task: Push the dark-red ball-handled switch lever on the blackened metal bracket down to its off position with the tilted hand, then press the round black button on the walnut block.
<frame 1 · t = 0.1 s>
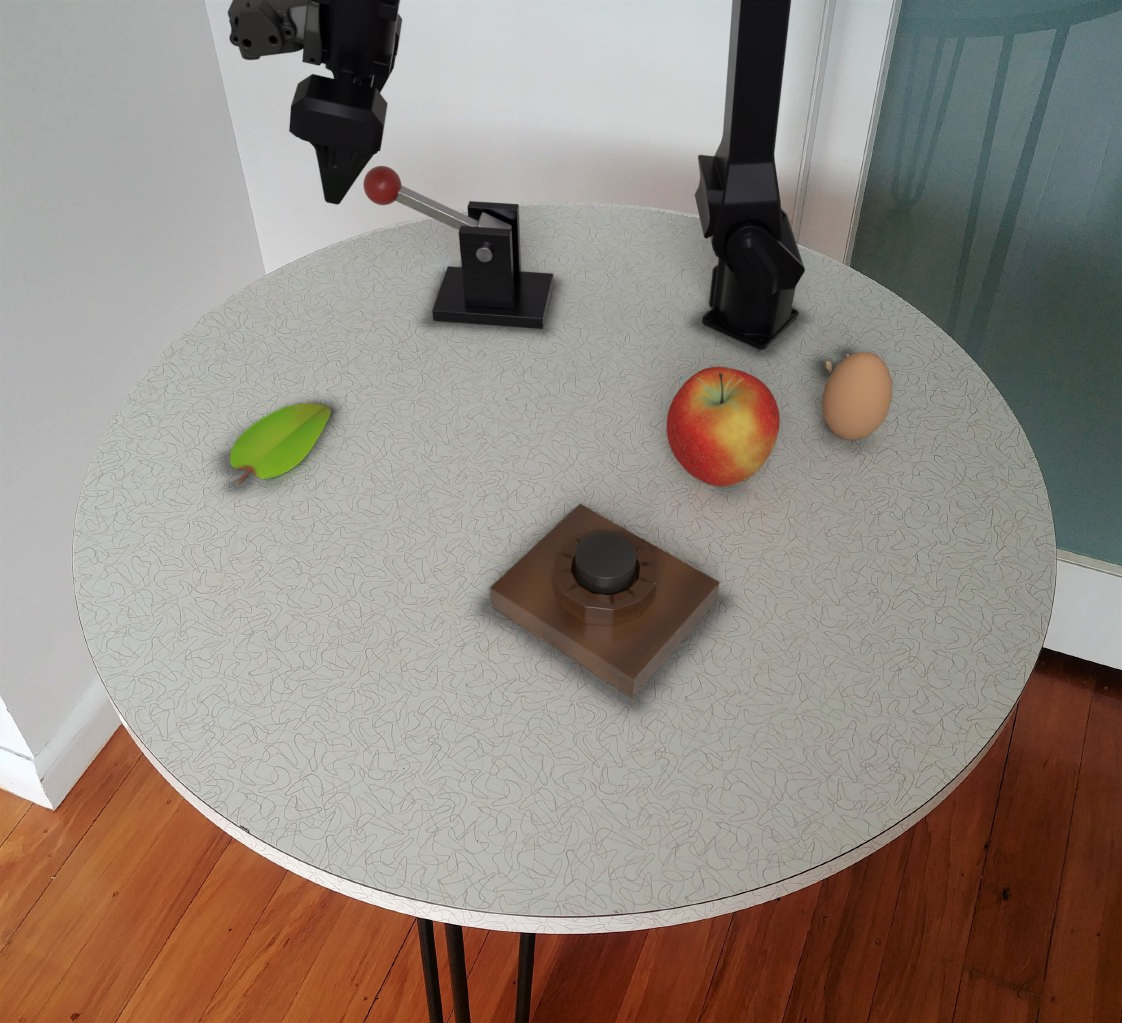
hand: (339, 171, 84), 15 cm above the table, tool pointing down, fingers open, 9 cm apart
bracket: (494, 302, 97), on the table
apple: (716, 472, 82), on the table
nutmeg: (843, 374, 91), on the table
button: (605, 563, 70), point 4 cm above the table, slide at 0.1 cm
egg: (847, 435, 85), on the table
button block: (604, 604, 73), on the table
decorative leaf: (280, 445, 85), on the table
switch: (435, 210, 91), point 9 cm above the table, hinge at 25.0°
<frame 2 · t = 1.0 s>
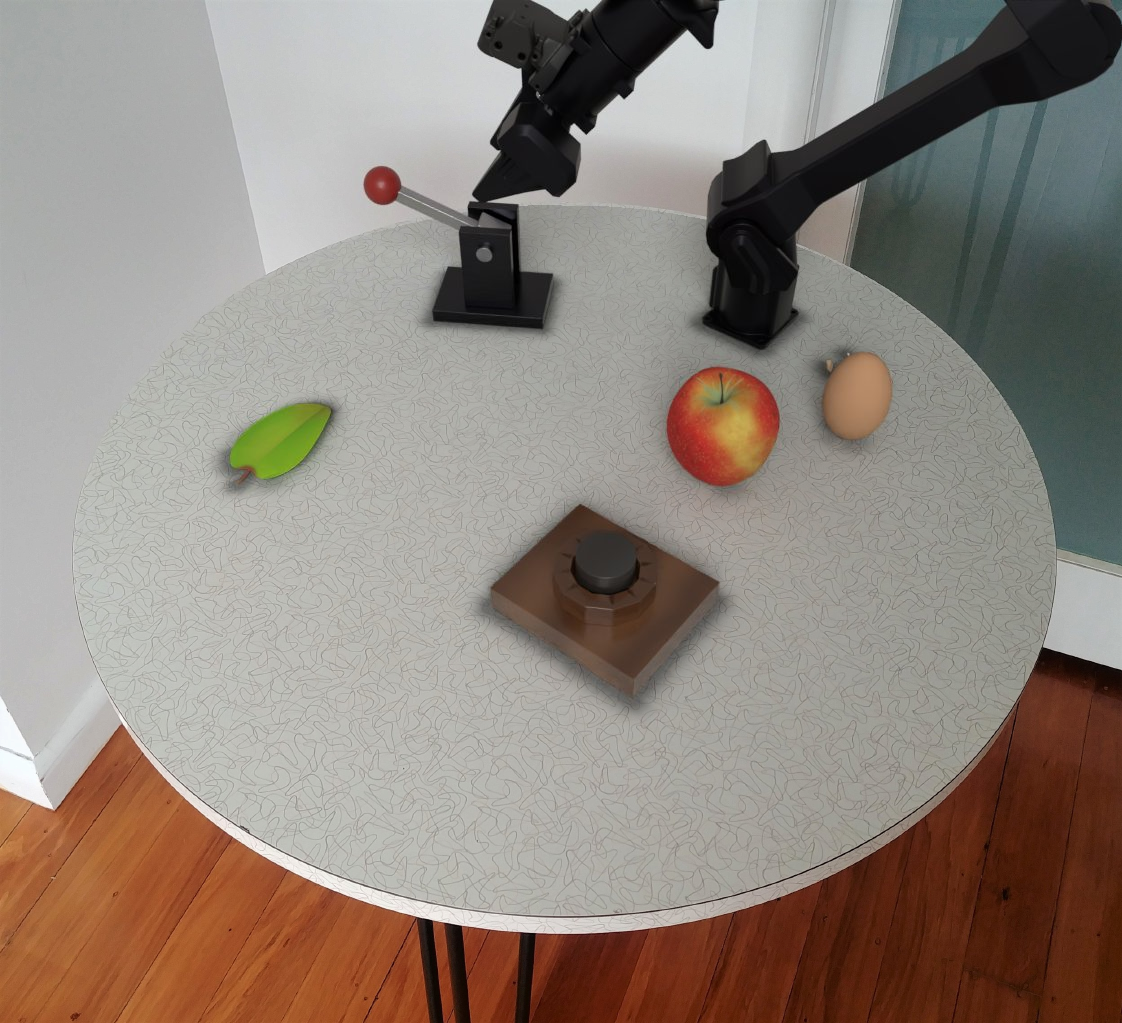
hand: (485, 171, 88), 13 cm above the table, tool tilted 45°, fingers open, 8 cm apart
nothing on the table moved.
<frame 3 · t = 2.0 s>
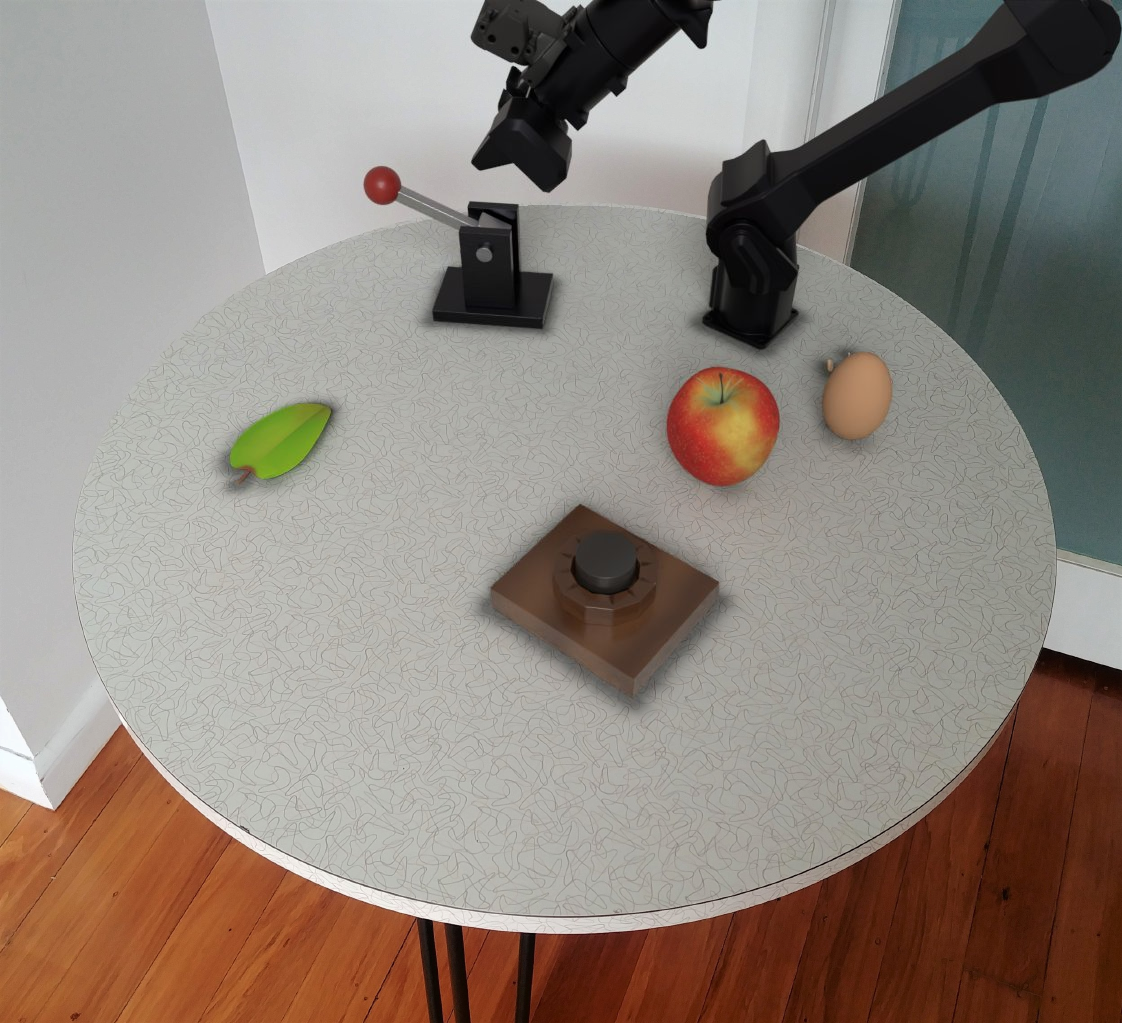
hand: (475, 164, 88), 14 cm above the table, tool tilted 45°, fingers closed
nothing on the table moved.
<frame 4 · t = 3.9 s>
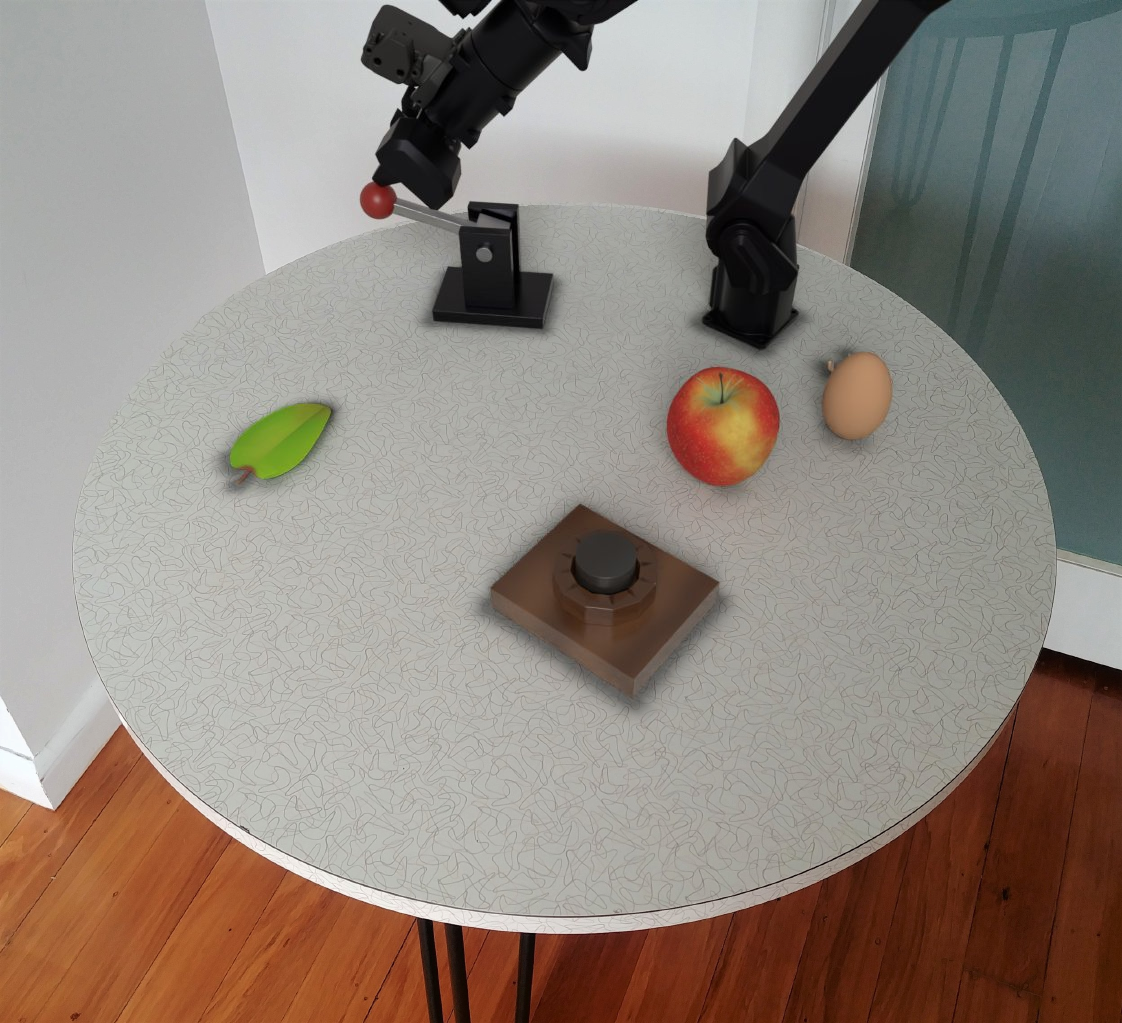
hand: (376, 181, 90), 12 cm above the table, tool tilted 45°, fingers closed
switch: (433, 217, 92), point 8 cm above the table, hinge at 16.3°, touching gripper
everything else where it was.
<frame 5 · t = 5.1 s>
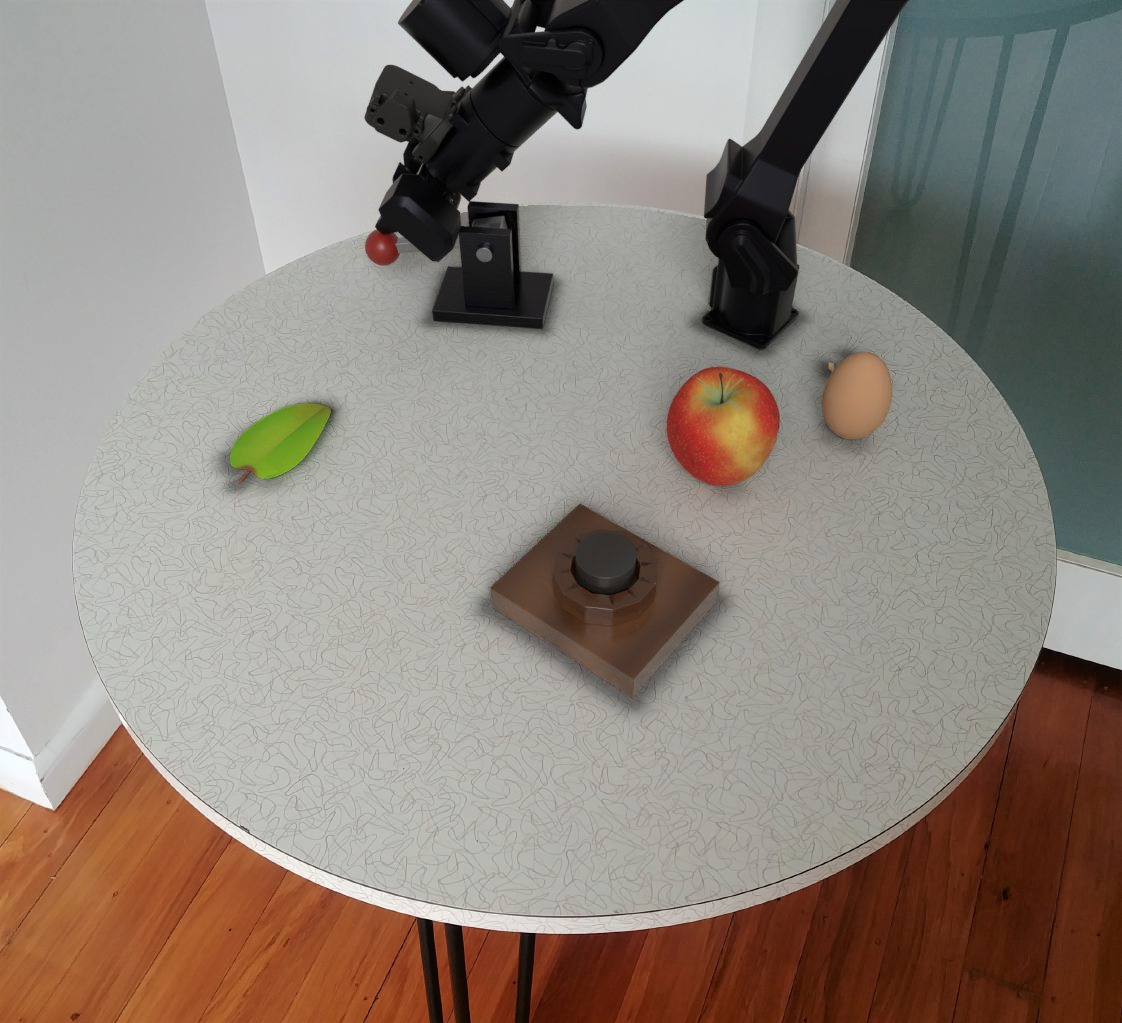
hand: (379, 229, 93), 7 cm above the table, tool tilted 45°, fingers closed, pressing on switch
switch: (434, 241, 94), point 6 cm above the table, hinge at -10.9°, touching gripper
everything else where it was.
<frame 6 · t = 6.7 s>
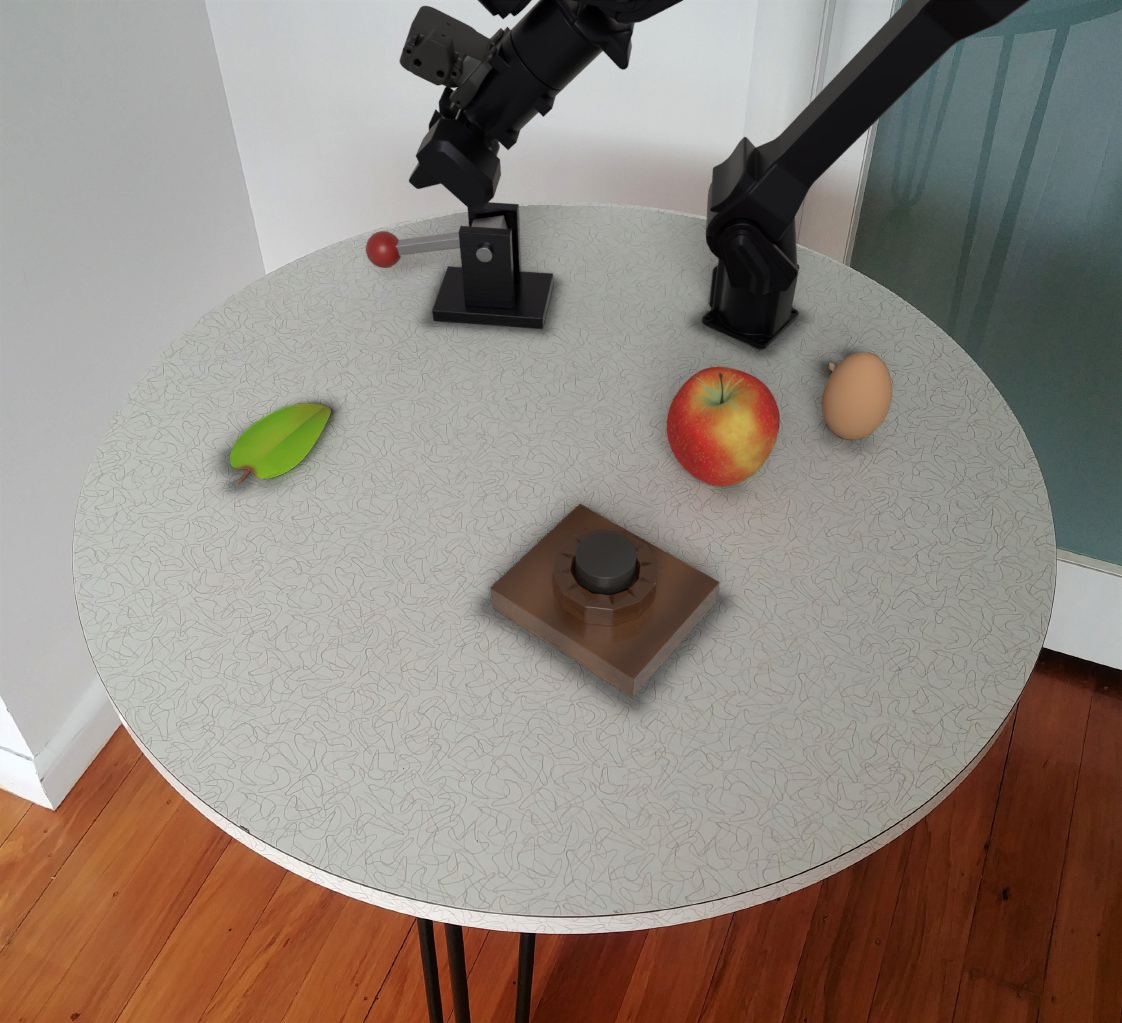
hand: (413, 183, 90), 12 cm above the table, tool tilted 45°, fingers closed
switch: (435, 243, 94), point 6 cm above the table, hinge at -12.3°
everything else where it was.
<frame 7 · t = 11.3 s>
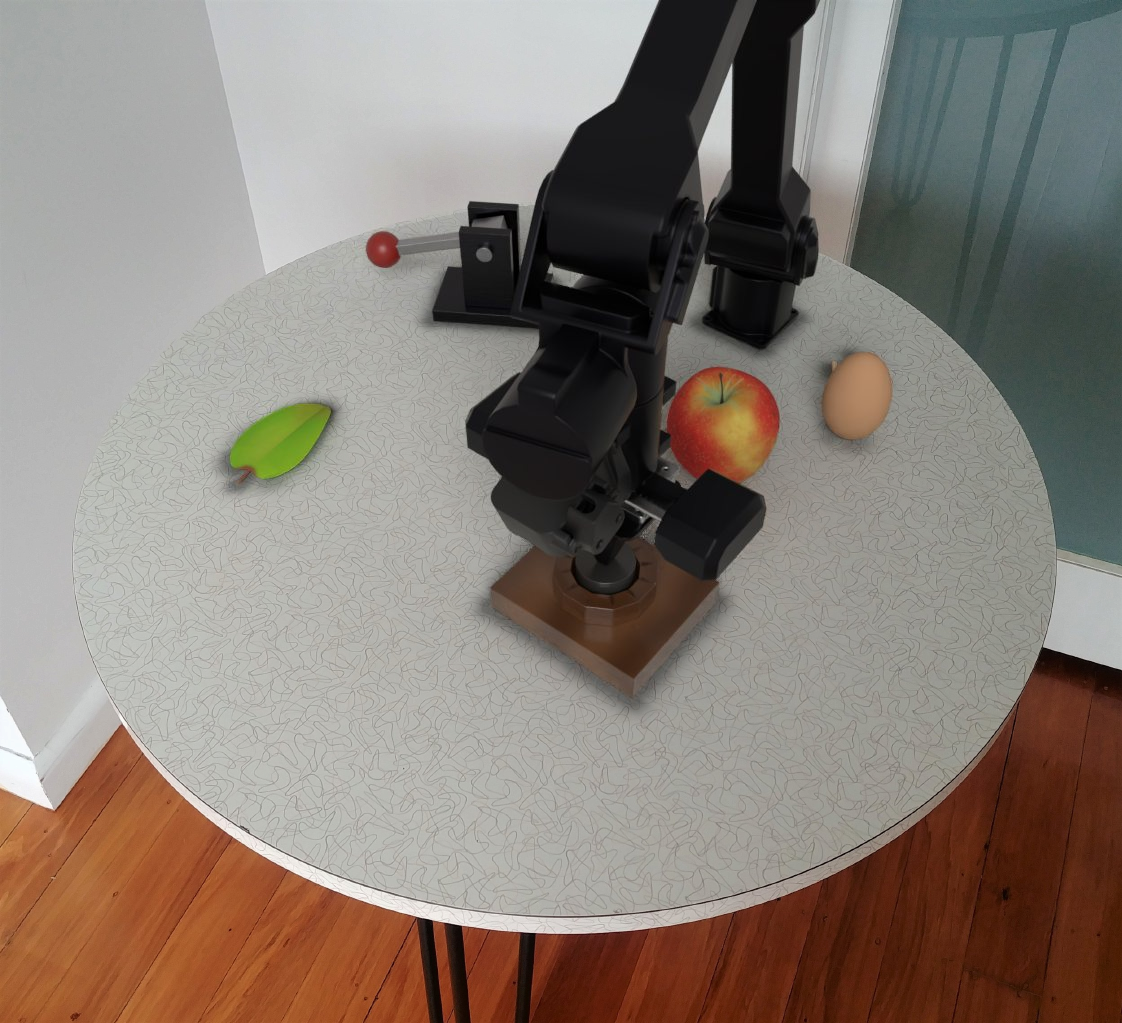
hand: (605, 559, 70), 5 cm above the table, tool pointing down, fingers closed, pressing on button
button: (605, 568, 71), point 4 cm above the table, slide at -0.5 cm, touching gripper
everything else where it was.
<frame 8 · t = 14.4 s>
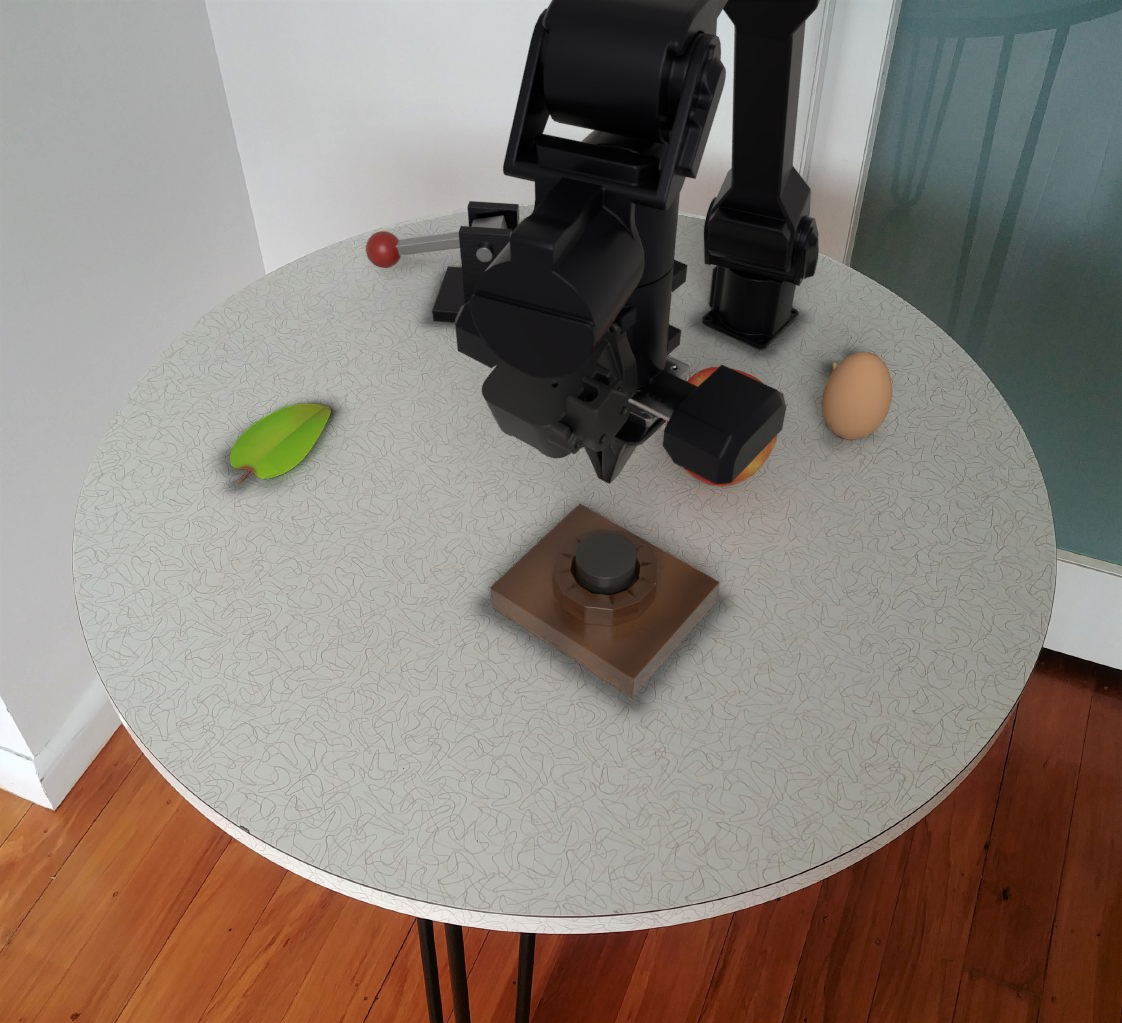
hand: (608, 477, 64), 12 cm above the table, tool pointing down, fingers closed
button: (605, 563, 70), point 4 cm above the table, slide at 0.1 cm
everything else where it was.
at the end: switch at -12° (first picture: +25°); button pushed in 1.1 cm at the most during the clip, back to where it started at the end; button slide at 0.1 cm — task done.
